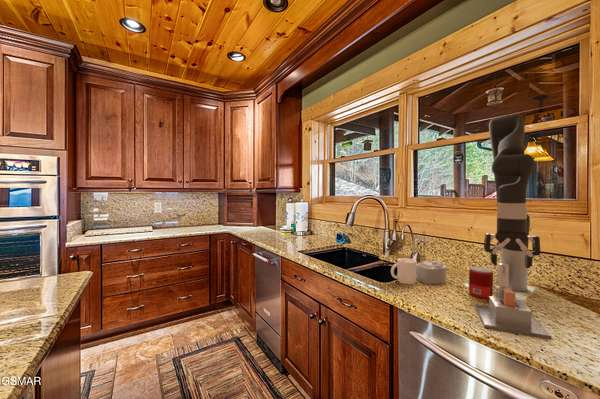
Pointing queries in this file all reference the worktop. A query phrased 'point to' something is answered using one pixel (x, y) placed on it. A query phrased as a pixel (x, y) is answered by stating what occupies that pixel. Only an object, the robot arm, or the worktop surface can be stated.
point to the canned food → (480, 282)
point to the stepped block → (509, 298)
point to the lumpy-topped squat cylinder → (431, 272)
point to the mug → (405, 271)
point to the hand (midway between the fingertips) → (510, 266)
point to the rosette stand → (509, 311)
